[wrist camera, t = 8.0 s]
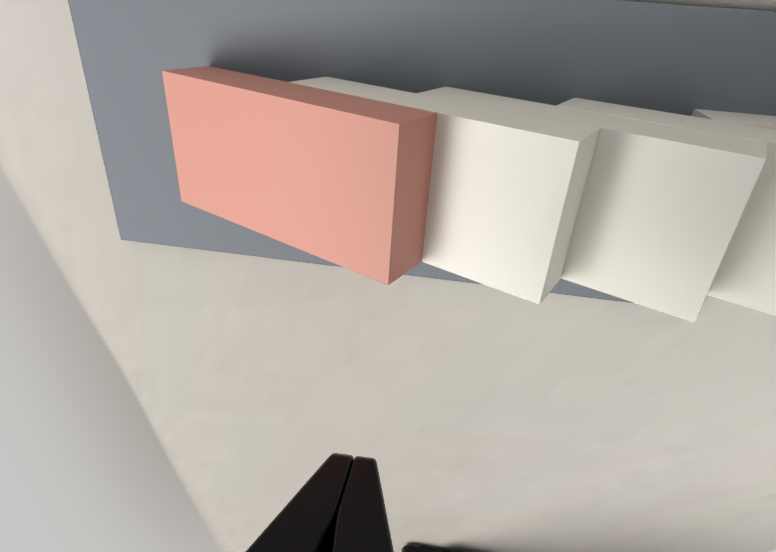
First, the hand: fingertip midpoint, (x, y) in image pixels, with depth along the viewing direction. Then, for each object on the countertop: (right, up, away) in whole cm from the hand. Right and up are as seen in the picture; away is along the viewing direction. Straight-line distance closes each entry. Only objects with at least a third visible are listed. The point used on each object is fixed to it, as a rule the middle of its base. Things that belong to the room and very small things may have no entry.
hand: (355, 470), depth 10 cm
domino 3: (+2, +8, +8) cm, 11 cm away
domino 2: (-2, +8, +8) cm, 11 cm away
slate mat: (+1, +8, +9) cm, 12 cm away
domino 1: (-6, +9, +8) cm, 13 cm away
